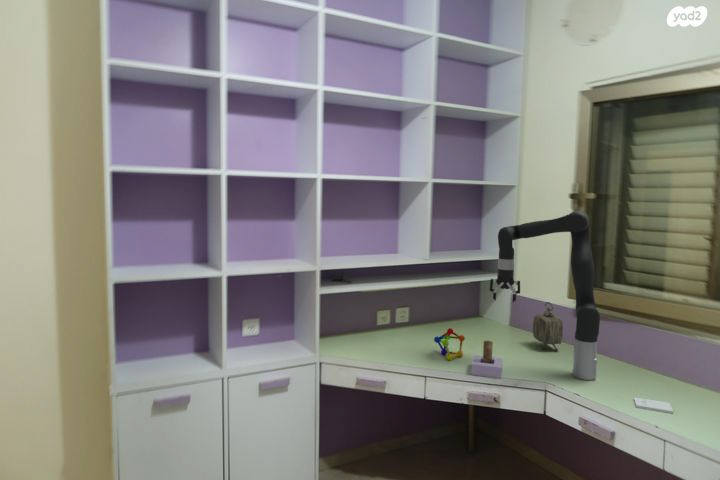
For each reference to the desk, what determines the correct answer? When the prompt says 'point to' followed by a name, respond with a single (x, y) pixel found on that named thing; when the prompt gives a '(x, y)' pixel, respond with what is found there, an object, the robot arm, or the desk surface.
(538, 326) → the tabletop clock
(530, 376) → the desk surface
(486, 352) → the dowel
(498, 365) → the socket
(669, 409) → the external hard drive
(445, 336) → the educational toy
